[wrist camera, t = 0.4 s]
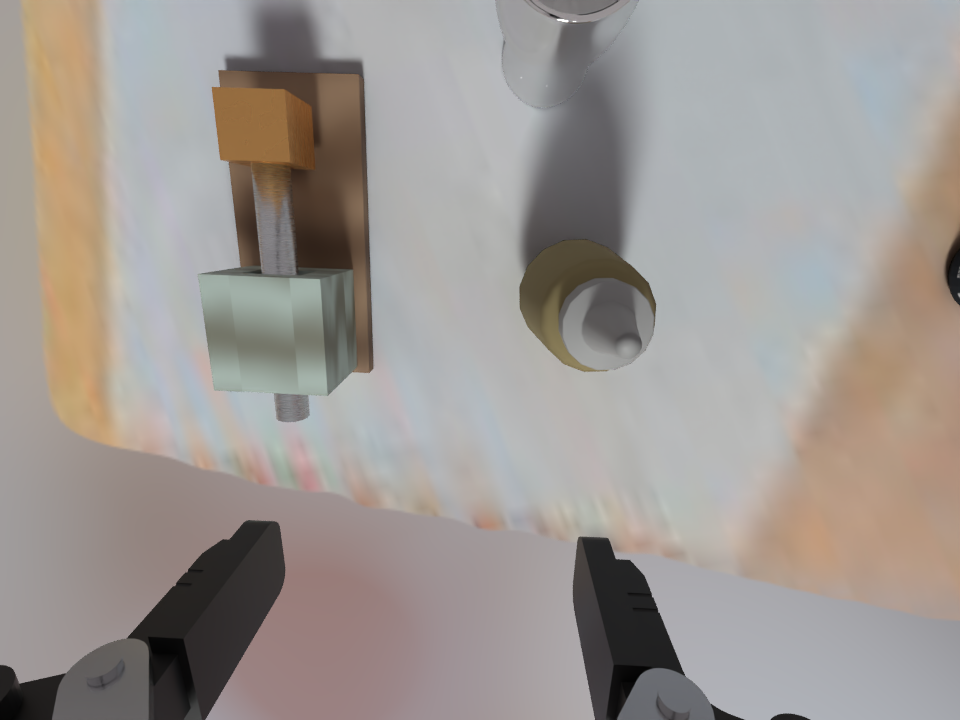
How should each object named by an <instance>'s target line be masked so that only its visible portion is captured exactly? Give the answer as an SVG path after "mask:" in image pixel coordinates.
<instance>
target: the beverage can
mask: <svg viewBox="0 0 960 720" xmlns="http://www.w3.org/2000/svg"><path fill="white" fill-rule="evenodd" d="M948 283H949V287H950V291H951V294H952V296H953V298H954V300H955V301H956V302H957V303H958V304H959V305H960V249H959V250H958V252H957V253H956V255H955V256H954V258H953V260H952V263H951V265H950V268H949V273H948Z"/></svg>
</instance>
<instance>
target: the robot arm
mask: <svg viewBox="0 0 960 720" xmlns="http://www.w3.org/2000/svg"><path fill="white" fill-rule="evenodd" d="M284 578H285V563H284V555H283V548H282V540H281V532H280V526H279V524H278V523H277V522H275V521H252V520H248V521H246V522H244V523H243V524H242V525H241V527H240V528H239V529H238V530H237V531H236V533H235V534H234V535H233V536H232V537H231V538H230V540H224V539H223V540H221V541H220V542H218V543H217V544H216V545H214V546H212V547H211V548H210V549H208V550H207V551H205V552H204V553H202V554H201V556H200V557H199V558H198V559H197V560H196V561H195V562H194V563H193V565H192V566H191V567H190V568H189V569H188V572H187V573H185V574H184V575H183V576H182V577H181V578H180V579H179V580H178V582H177V583H176V586H173V587H172V588H171V589H170V590H169V592H168V593H167V594H166V595H165V596H164V597H163V598H162V599H161V601H160V602H159V603H158V604H157V605H156V606H155V607H154V608H153V609H152V611H151V612H150V613H149V614H148V615H147V616H146V617H145V618H144V620H143V621H142V622H141V623H140V624H139V625H138V626H137V627H136V629H135V630H134V631H133V632H132V633H131V634H130V635H129V636H128V638H127V639H121V640H117V641H114V642H111V643H108V644H106V645H103V646H101V647H100V648H97V649H96V650H94V651H92V652H90V653H89V654H87V655H86V656H84V657H83V658H82V659H80V660H79V661H78V662H77V663H76V664H75V665H74V666H73V667H72V668H71V669H70V670H69V671H68V672H67V673H66V674H61V675H56V676H52V677H48V678H43V679H39V680H34V681H30V682H25V683H21V684H19V682H18V679H17V677H16V674H15V672H14V670H13V669H12V668H10V667H8V666H4V665H0V720H205V719H206V717H207V716H208V714H209V712H210V711H211V709H212V707H213V706H214V704H215V702H216V700H217V699H218V697H219V695H220V694H221V692H222V690H223V689H224V687H225V685H226V683H227V682H228V680H229V678H230V677H231V675H232V673H233V671H234V670H235V668H236V667H237V665H238V663H239V661H240V660H241V658H242V656H243V655H244V653H245V651H246V649H247V648H248V646H249V644H250V643H251V641H252V639H253V638H254V636H255V634H256V633H257V631H258V629H259V627H260V626H261V624H262V622H263V621H264V619H265V617H266V616H267V614H268V612H269V611H270V609H271V607H272V605H273V604H274V602H275V600H276V599H277V597H278V595H279V593H280V591H281V589H282V586H283V583H284ZM573 603H574V611H575V616H576V622H577V627H578V632H579V637H580V642H581V648H582V652H583V658H584V663H585V669H586V674H587V680H588V685H589V690H590V695H591V700H592V706H593V711H594V716H595V720H744V719H741V718H738V717H736V716H733V715H730V714H728V713H726V712H724V711H721V710H720V709H718V708H716V707H715V706H713V705H712V704H710V702H709V701H708V699H707V697H706V696H705V694H704V693H703V692H702V691H701V689H700V688H699V687H698V686H697V685H696V684H695V683H693V682H692V681H691V680H690V679H688V678H687V677H686V676H685V674H684V672H683V670H682V668H681V665H680V663H679V660H678V658H677V655H676V653H675V650H674V648H673V645H672V643H671V640H670V638H669V635H668V633H667V631H666V628H665V626H664V623H663V621H662V618H661V616H660V613H658V608H657V606H656V603H655V601H654V598H653V597H652V593H651V591H650V588H649V586H648V583H647V581H646V579H645V576H644V575H643V574H642V573H641V572H640V570H639V569H638V568H637V567H636V566H635V565H634V564H633V563H632V562H631V561H630V560H619V559H618V560H617V559H615V556H614V552H613V550H612V547H611V544H610V541H609V539H608V538H600V537H579V538H578V542H577V550H576V560H575V570H574V580H573ZM771 720H810V719H807V718H805V717H802V716H799V715H795V714H779V715H777V716H774V717H773V718H772V719H771Z"/></svg>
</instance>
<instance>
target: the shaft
mask: <svg viewBox="0 0 960 720" xmlns="http://www.w3.org/2000/svg"><path fill="white" fill-rule="evenodd" d="M212 93H213V102H214V110H215V118H216V127H217V135H218V144H219V152H220V160H223V161H228V162H232V163H236V164H240V165H244V166H248V167H251V172H252V181H253V191H254V201H255V211H256V221H257V231H258V241H259V251H260V261H261V270H262V274H274V275H298V276H299V270H298V257H297V244H296V231H295V219H294V206H293V193H292V180H291V169H302V170H315V155H314V139H313V123H312V107H311V106H310V105H308V104H307V103H305V102H304V101H302V100H301V99H299V98H297V97H296V96H294V95H293V94H291V93H290V92H288V91H287V90H285V89H261V88H227V87H212ZM274 399H275V409H276V418H277V420H279V421H282V422H295V421H300V420H303V419H305V418H307V417H308V416H309V415H310V411H309V398H308V395H299V394H279V393H274Z"/></svg>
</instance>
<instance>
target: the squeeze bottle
mask: <svg viewBox="0 0 960 720" xmlns="http://www.w3.org/2000/svg"><path fill="white" fill-rule="evenodd" d="M520 310H521V312H522V314H523V317H524V319H525V321H526V324H527V326H528V328H529V329H530V330H531V331H532V332H533V333H534V334H535V335H536V336H537V338H538V339H539V340H540V341H541V342H542V343H543V344H544V345H545V346H546V347H547V349H548V350H549V351H550V352H552V353H553V354H554V355H555V356H556V357H557V358H558V359H559V360H560V361H561V362H562V363H563V364H565V365H568V366H570V367H573V368H576V369H578V370H581V371H584V372H590V371H608V370H616V369H618V368H620V367H623V366H625V365H628V364H630V363H632V362H633V361H634V360H635V359H637V358H638V357H639V356H640V355H641V354H642V353H643V352H644V351H645V350H646V348H647V346H648V344H649V342H650V340H651V338H652V336H653V331H654V325H655V312H656V303H655V300H654V297H653V294H652V291H651V288H650V286H649V283H648V282H647V281H646V280H645V279H644V278H643V277H642V276H641V275H640V274H639V273H638V272H637V271H636V270H635V269H634V268H633V267H632V266H631V265H630V264H628V263H627V262H626V261H624V260H623V259H622V258H621V257H619V256H618V255H617V254H615V253H614V252H613V251H611V250H610V249H609V248H607V247H605V246H602V245H600V244H597V243H595V242H592V241H590V240H587V239H582V240H563V241H561V242H559V243H557V244H555V245H552V246H550V247H548V248H546V249H544V250H543V251H542V252H541V253H540V254H539V255H538V256H537V257H536V258H535V259H534V260H533V261H532V262H531V263H530V264H529V265H528V267H527V269H526V272H525V274H524V277H523V279H522V282H521V284H520Z"/></svg>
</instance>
